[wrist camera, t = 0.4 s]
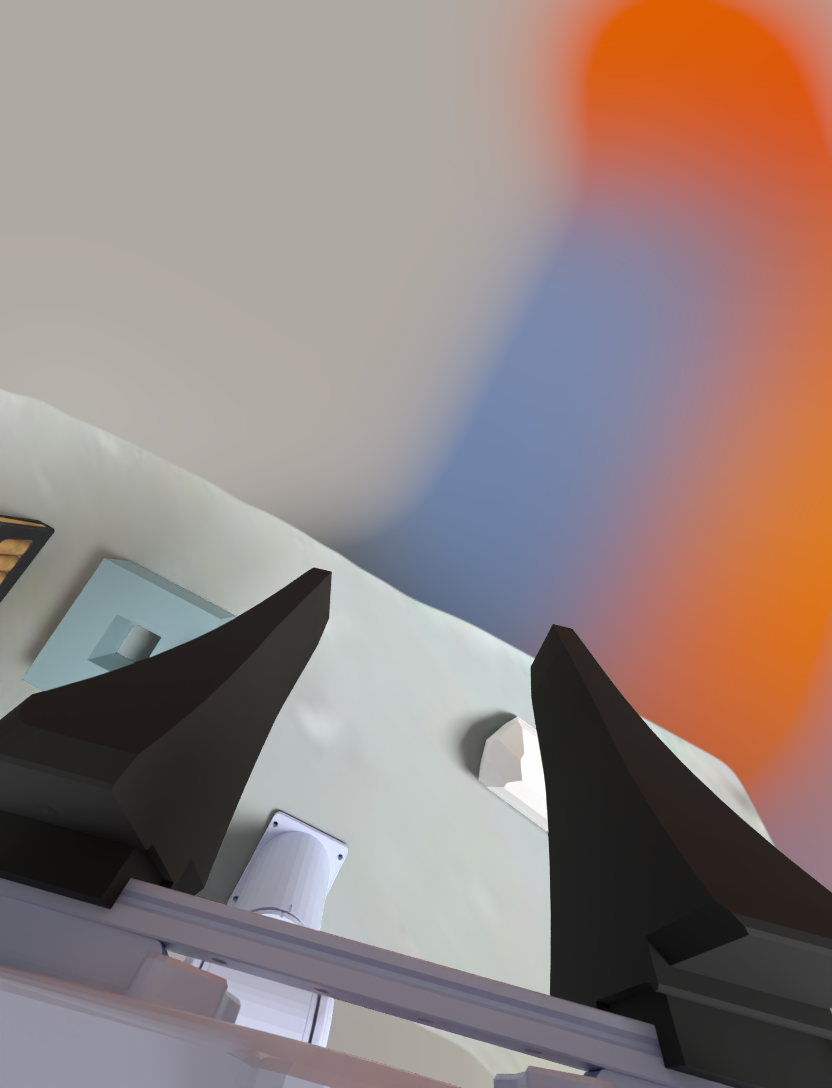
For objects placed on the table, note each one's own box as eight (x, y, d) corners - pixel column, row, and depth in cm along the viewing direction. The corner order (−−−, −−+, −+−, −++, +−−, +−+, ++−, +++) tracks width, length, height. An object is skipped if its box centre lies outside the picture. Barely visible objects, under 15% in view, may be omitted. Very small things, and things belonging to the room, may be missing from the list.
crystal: (457, 801, 33) (663, 953, 33) (507, 760, 31) (731, 925, 31) (464, 737, 40) (634, 863, 40) (505, 699, 38) (688, 834, 38)
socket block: (169, 727, 35) (146, 742, 31) (57, 670, 34) (21, 679, 31) (236, 616, 37) (221, 619, 33) (130, 560, 36) (103, 558, 33)
